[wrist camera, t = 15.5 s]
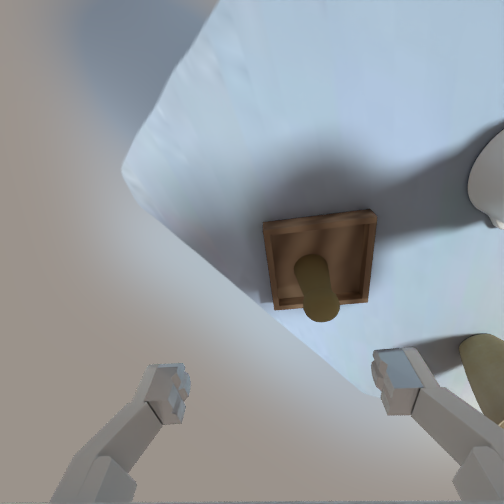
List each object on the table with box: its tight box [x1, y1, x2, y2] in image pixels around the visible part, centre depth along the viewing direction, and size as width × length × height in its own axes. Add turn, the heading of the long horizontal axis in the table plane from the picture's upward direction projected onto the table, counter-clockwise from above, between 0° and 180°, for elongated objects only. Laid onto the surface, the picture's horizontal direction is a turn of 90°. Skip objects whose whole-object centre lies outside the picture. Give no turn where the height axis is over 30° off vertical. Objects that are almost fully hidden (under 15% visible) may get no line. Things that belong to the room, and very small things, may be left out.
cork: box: [294, 254, 340, 322], centre depth 40 cm, size 6×6×11 cm
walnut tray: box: [263, 209, 377, 310], centre depth 43 cm, size 17×17×3 cm
